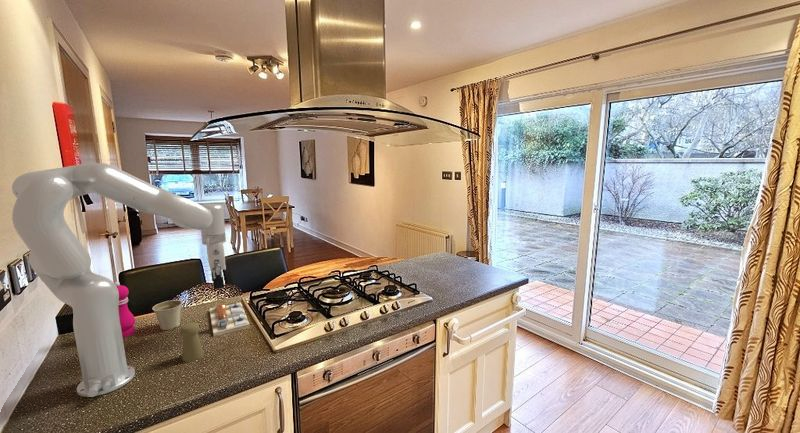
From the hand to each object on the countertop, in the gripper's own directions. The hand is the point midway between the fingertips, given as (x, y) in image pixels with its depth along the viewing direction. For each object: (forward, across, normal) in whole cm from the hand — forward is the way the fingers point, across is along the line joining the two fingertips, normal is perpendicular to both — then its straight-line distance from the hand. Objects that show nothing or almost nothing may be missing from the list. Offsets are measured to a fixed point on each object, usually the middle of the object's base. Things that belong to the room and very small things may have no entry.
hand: (217, 284), depth 125 cm
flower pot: (+18, +13, +16) cm, 27 cm away
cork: (+18, -15, +9) cm, 25 cm away
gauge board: (+17, +7, -3) cm, 19 cm away
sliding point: (+15, 0, -3) cm, 16 cm away
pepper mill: (+18, +15, +30) cm, 38 cm away
